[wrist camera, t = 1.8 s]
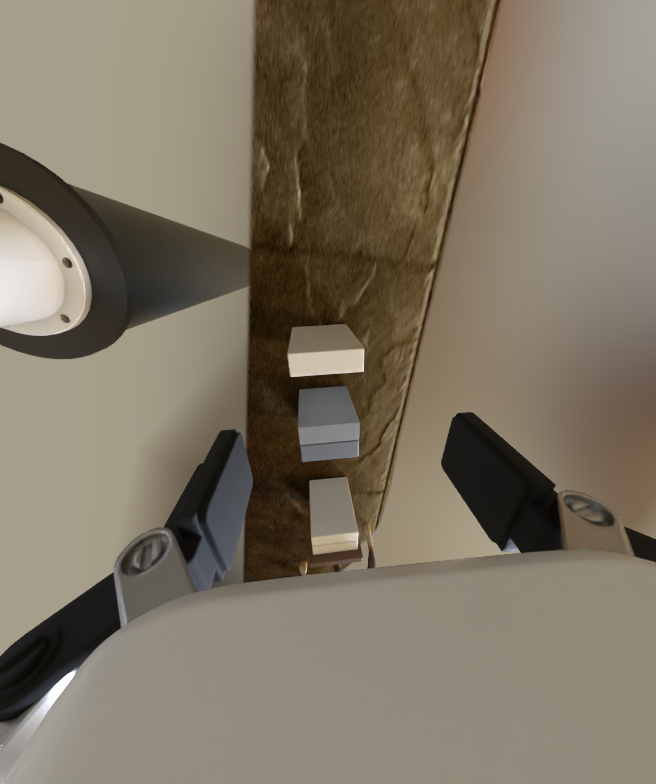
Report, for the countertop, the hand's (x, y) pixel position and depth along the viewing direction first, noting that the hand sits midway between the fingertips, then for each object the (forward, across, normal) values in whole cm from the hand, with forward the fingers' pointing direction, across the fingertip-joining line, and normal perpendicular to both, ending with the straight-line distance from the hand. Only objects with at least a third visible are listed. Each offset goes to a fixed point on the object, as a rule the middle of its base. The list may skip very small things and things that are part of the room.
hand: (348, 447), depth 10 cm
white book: (+18, 0, 0) cm, 18 cm away
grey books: (+18, 0, +8) cm, 20 cm away
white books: (+19, 0, +24) cm, 31 cm away
